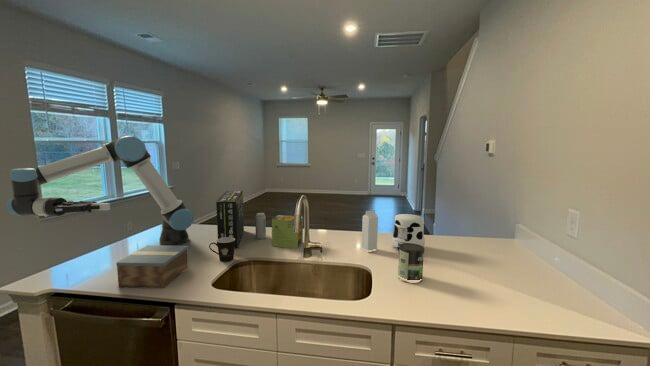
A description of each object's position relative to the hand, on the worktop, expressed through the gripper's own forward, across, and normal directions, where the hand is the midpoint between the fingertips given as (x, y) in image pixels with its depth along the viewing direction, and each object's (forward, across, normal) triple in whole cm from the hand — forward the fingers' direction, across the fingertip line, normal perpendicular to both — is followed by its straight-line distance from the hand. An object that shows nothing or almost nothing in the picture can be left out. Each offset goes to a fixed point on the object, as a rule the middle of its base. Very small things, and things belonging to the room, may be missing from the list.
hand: (108, 206), depth 123 cm
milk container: (+135, -40, -32) cm, 144 cm away
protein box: (+67, -44, -32) cm, 87 cm away
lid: (+18, 0, -21) cm, 27 cm away
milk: (+113, -36, -32) cm, 123 cm away
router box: (+34, -52, -31) cm, 69 cm away
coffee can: (+125, -2, -32) cm, 129 cm away
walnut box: (+17, 0, -30) cm, 35 cm away
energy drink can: (+50, -55, -31) cm, 80 cm away
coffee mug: (+39, -20, -31) cm, 54 cm away
